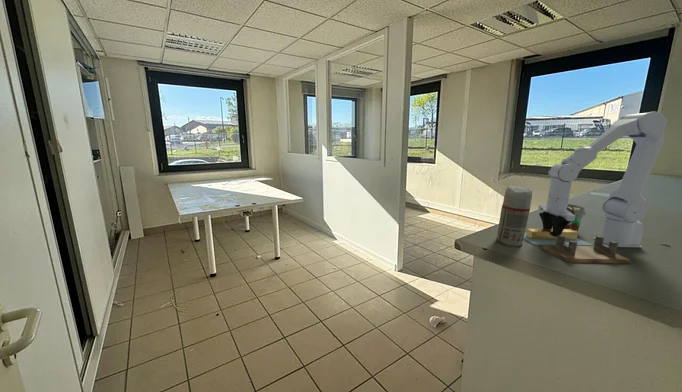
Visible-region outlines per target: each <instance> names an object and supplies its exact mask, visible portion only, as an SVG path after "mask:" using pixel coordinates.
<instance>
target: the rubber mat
mask: <svg viewBox="0 0 682 392" xmlns="http://www.w3.org/2000/svg"><path fill="white" fill-rule="evenodd" d="M526 233H527V231H525V235H524V239H523V241H526V242H528V243H529V244H531V245H533V246H544V245H556V242H557V240H545V239H530V238H528V237H526ZM569 241H576V242H577V246H594V244H592V243H589V242H588V241H585V240H584V239H581V238H578V237H577V240H565V241H564V243H566V244H568V245H569Z"/></svg>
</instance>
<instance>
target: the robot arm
mask: <svg viewBox="0 0 682 392" xmlns="http://www.w3.org/2000/svg"><path fill="white" fill-rule="evenodd" d="M667 123H668V119H667V118H666V117H665V116H664V115H663V114H662V113H661V112H659V111H649V112H643V113H642V112H641V113H634V114H633V113H627V114H624V115H622V116H621V117H620V118H619V119H617V120H615V121H614V122H613V123H612V125H611V126H610V127H609V128H608V129H607V130H605V131H604V132H603V133H602V134H601V135H599V137H597V138H595V140H593V141H592V142H591V143H590V144H589V145H588V146H581V147H579V148H578V147H577V148H575V149H574V150H573V152H572V153H571V154H570V155H569V156H567V157H566V158H563V159H561V162H559V163H555V164H553V165H552V166H551V167H550V169H549V170H548V172H547V173H548V176H549V177H550V185H549V189H548V195H547V202H546V205H545V204H539V205H538V209H537V210H538V211H541V212H539V213H538V216H539V217H540V219H541V223H542V229H553V230H552V236H554V237H558V235H559V236H560V235H561V233H562V231H563V230H564V228H565V227H566V226H567V225H568V224H569V223H570V222H571V221H575V215H573V214H571V213H569V212H568V211H566V210H567V205H568V204H569V199H570V194H571V188H572V183H573V181H574V180H575V179H577V178H578V176H579V173H580V172H581V171H582V170H583V169H585V168H586V167H587V166H588V165H589V164H591V163H593V162H594V161H595V160H596V159H597V158H598V157H597V156H598V153H601V152H602V150H604V149H606V148H607V147H608V146H610V145H612V144H613V143H615V142H616V141H617V140H620V138H622V137H627V138H630V139H631V140H632V141H633V142H634V143H635V144H636V145H635V148H634V150H633V153H632V155H631V158H630V160H629V162H628V164H627V167H626V169H625V172H624V174H623V175H622V176H623V177H622V178H621V179H622V180H620V181H621V182H620V184H619V187H618V188H617V189H616V190H615V191H612V192H611V193H610V194H609V196H608V197H607V198H606V200H604V202H603V203H602V207H601V209H602V211H603V212H604V213H605V214H604V216H605V219H604V223H603V229H602V232H601V236H602V237H604V240H603V244H606V245H608V246H609V243H610V242H617V243H618V247H617V248H643V246H642V245H641V243H642V238H643V234H644V225H643V223H642V222H641V221H640V220H642V219H643V217H644V216H645V214H646V204H647V199H645V197H644V196H643V194H642V192H643V190H644V187H645V185H646V183H647V181H648V179H649V177H650V174H651V172H652V169H653V167H654V165H655V163H656V160H657V158H658V157H659V156H658V155H659V153H660V151H661V148H662V147H663V144H664V141H665V128H666V126H667ZM557 216H558V217H557ZM595 238H596V236H595V237H593V240H595Z"/></svg>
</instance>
